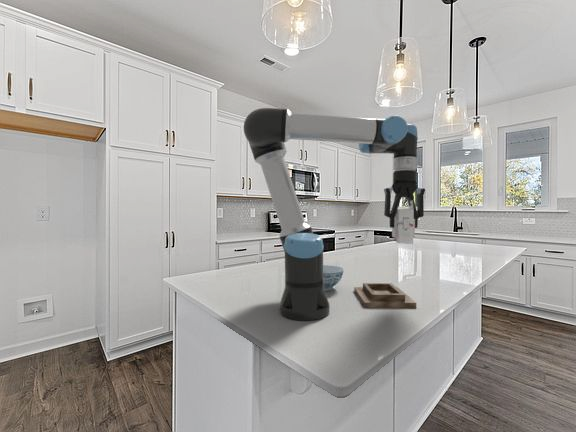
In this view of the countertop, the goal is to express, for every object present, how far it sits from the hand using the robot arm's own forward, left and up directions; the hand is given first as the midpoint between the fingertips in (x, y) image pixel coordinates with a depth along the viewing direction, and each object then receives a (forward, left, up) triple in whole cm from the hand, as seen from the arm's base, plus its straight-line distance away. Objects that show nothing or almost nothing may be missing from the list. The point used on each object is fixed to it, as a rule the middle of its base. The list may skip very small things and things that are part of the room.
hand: (403, 237), depth 101 cm
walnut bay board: (-8, -2, -21) cm, 23 cm away
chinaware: (-27, +11, -21) cm, 36 cm away
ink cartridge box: (0, 0, -2) cm, 2 cm away
